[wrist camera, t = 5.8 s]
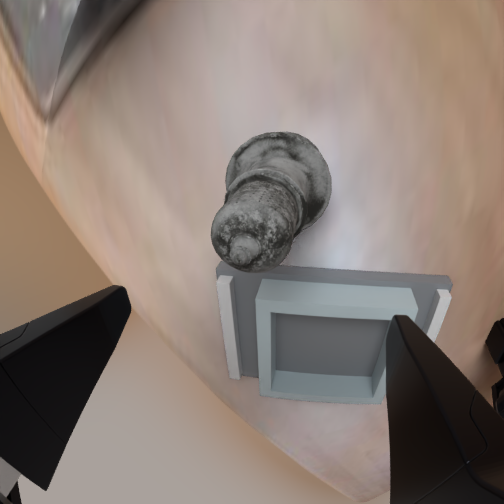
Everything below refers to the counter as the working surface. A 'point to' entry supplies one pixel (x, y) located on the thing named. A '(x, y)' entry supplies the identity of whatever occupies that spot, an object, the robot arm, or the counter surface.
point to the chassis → (321, 327)
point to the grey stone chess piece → (269, 200)
